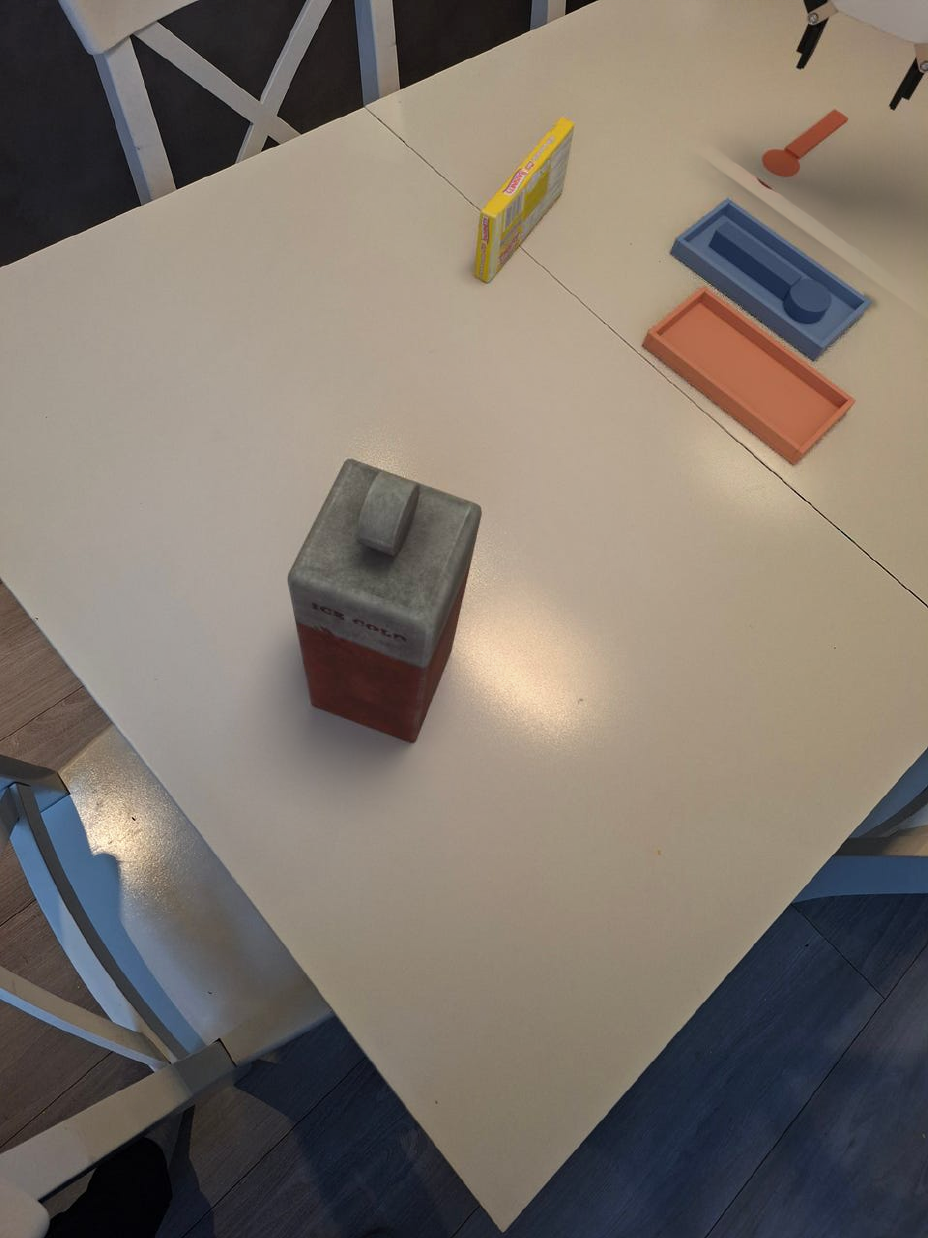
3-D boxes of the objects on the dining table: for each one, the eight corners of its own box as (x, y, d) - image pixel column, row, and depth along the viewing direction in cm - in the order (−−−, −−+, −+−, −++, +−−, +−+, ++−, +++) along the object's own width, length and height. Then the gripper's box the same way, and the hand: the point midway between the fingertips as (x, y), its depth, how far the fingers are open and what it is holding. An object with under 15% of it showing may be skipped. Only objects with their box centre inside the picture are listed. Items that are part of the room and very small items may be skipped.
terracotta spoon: (817, 120, 106) (826, 102, 104) (847, 140, 105) (857, 123, 103) (748, 174, 101) (755, 157, 99) (778, 196, 100) (787, 179, 98)
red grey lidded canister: (327, 601, 75) (305, 388, 49) (452, 647, 74) (495, 455, 49) (283, 695, 71) (233, 517, 46) (414, 744, 71) (438, 592, 45)
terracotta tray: (846, 412, 88) (856, 400, 86) (793, 465, 85) (803, 453, 83) (697, 299, 92) (703, 284, 91) (641, 345, 89) (647, 331, 87)
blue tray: (862, 315, 94) (872, 301, 92) (813, 361, 91) (822, 348, 89) (721, 212, 98) (727, 197, 96) (669, 252, 95) (675, 237, 93)
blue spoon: (701, 251, 95) (708, 235, 93) (726, 231, 96) (733, 215, 94) (808, 330, 91) (818, 315, 89) (832, 309, 93) (842, 293, 91)
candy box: (546, 183, 97) (560, 114, 90) (563, 192, 97) (579, 123, 89) (470, 275, 91) (479, 208, 83) (488, 284, 91) (499, 218, 83)
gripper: (1067, -105, 71) (942, 96, 87) (867, -184, 73) (780, 26, 89) (1046, -59, 68) (921, 140, 84) (838, -143, 70) (754, 66, 86)
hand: (849, 81), depth 87 cm, fingers open, 9 cm apart
